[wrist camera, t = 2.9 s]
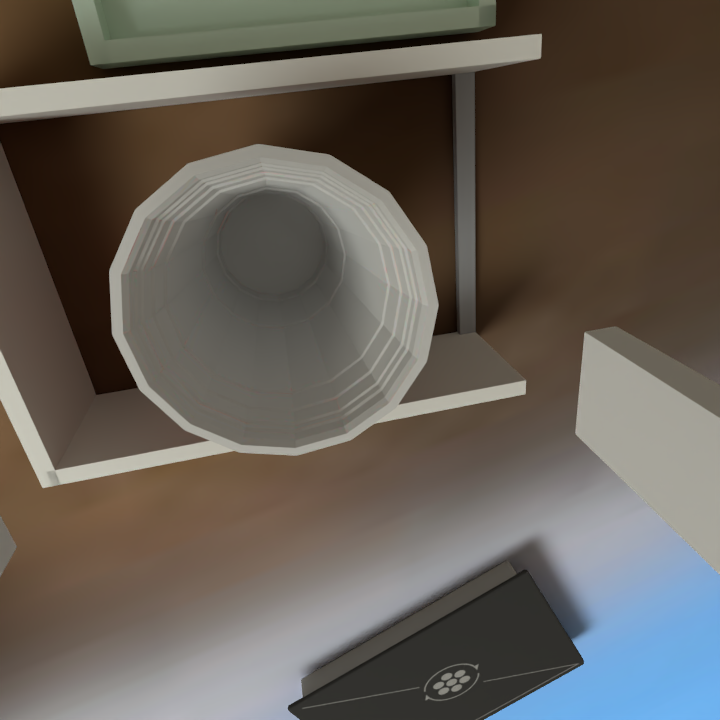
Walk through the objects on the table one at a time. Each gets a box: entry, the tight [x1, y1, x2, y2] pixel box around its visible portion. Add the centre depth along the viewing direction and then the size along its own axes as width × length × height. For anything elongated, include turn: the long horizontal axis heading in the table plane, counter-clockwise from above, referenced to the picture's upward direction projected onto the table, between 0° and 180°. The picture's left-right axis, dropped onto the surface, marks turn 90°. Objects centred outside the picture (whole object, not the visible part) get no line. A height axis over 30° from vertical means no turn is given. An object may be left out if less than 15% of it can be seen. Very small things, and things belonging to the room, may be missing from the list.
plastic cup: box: [109, 144, 439, 456], centre depth 22 cm, size 11×11×12 cm
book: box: [288, 561, 584, 720], centre depth 44 cm, size 22×15×3 cm
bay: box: [0, 34, 542, 488], centre depth 24 cm, size 23×16×7 cm
